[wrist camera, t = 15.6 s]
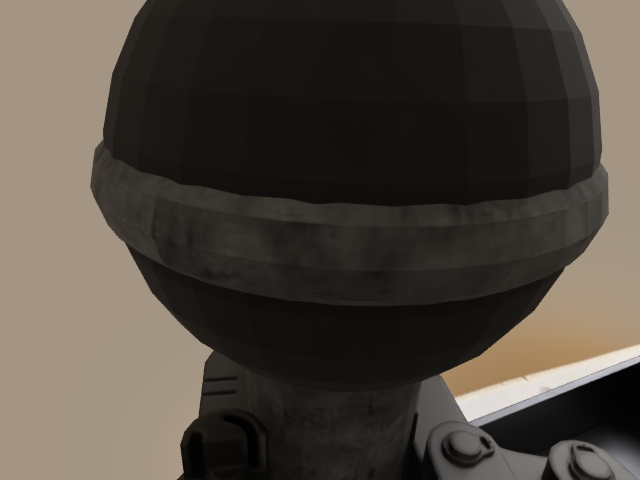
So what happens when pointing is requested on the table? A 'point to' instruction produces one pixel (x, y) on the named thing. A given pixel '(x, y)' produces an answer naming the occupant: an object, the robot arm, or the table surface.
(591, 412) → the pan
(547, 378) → the table surface
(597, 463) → the robot arm
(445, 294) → the microphone
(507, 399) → the table surface
